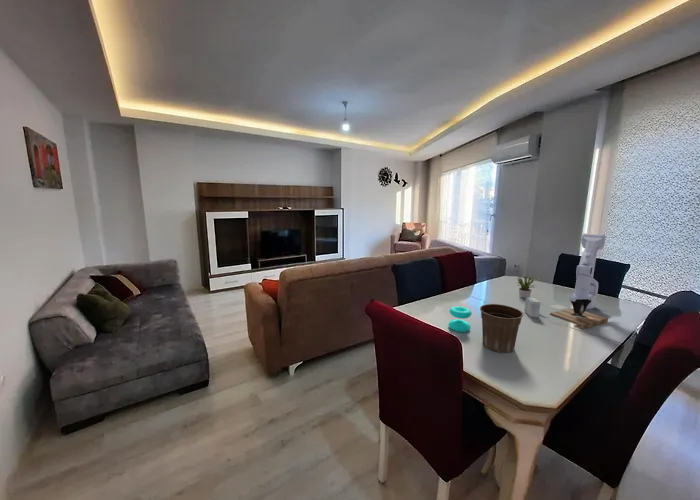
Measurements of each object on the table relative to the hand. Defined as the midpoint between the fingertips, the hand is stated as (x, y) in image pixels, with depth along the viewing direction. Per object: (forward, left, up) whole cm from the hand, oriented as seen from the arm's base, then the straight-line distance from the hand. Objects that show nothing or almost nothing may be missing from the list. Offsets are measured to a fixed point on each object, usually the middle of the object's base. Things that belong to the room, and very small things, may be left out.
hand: (578, 312), depth 151 cm
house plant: (-6, -34, -4) cm, 35 cm away
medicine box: (+16, -14, -4) cm, 22 cm away
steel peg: (0, 0, -1) cm, 1 cm away
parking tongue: (-6, -14, -4) cm, 16 cm away
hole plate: (0, 0, -4) cm, 4 cm away
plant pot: (+63, +6, -4) cm, 63 cm away
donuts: (+66, -14, -4) cm, 68 cm away
